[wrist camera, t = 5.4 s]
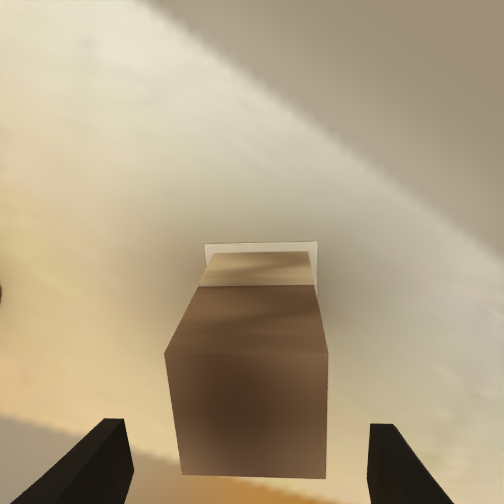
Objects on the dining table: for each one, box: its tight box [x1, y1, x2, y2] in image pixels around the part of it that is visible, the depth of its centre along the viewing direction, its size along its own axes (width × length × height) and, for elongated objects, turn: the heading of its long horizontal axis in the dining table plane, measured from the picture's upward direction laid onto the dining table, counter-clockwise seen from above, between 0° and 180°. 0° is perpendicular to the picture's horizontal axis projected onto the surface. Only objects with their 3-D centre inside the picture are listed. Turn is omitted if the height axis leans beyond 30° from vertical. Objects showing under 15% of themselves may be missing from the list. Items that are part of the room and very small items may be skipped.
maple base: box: [198, 251, 314, 286], centre depth 19 cm, size 5×5×4 cm
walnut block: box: [164, 285, 328, 479], centre depth 14 cm, size 5×5×5 cm
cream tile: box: [204, 241, 318, 296], centre depth 20 cm, size 6×6×1 cm
